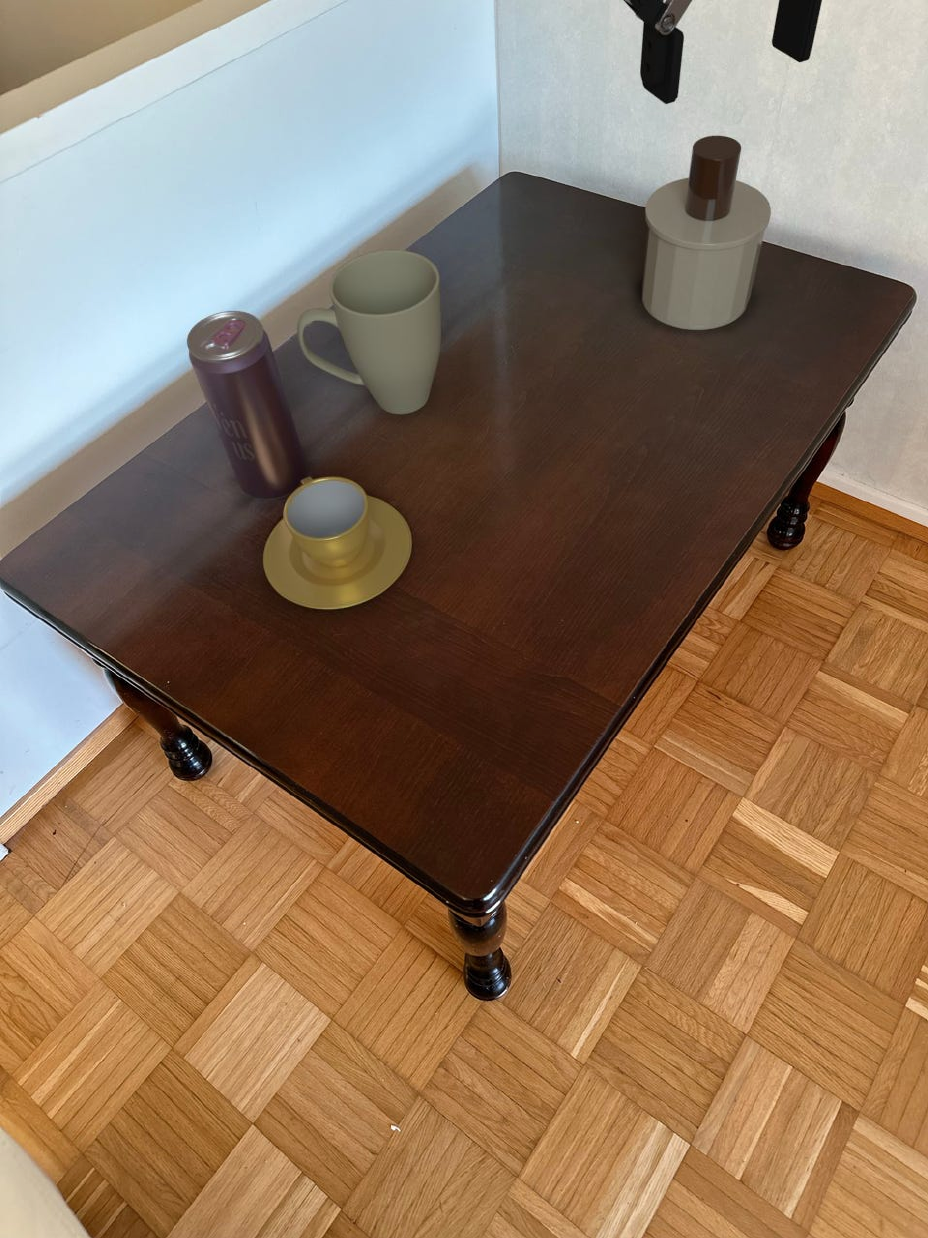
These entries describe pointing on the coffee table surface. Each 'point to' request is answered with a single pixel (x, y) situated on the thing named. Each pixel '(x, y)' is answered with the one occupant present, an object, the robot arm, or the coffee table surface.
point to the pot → (697, 283)
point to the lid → (709, 201)
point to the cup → (335, 545)
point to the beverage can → (248, 403)
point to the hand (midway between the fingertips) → (725, 73)
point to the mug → (385, 326)
